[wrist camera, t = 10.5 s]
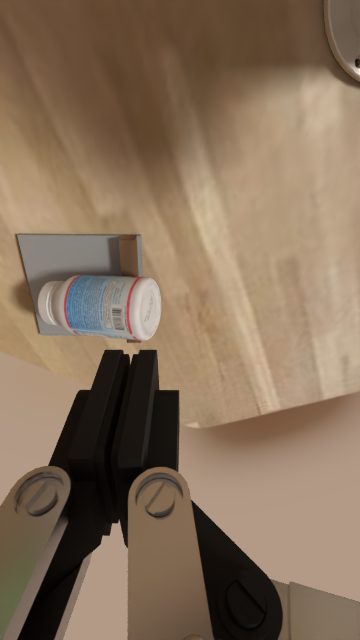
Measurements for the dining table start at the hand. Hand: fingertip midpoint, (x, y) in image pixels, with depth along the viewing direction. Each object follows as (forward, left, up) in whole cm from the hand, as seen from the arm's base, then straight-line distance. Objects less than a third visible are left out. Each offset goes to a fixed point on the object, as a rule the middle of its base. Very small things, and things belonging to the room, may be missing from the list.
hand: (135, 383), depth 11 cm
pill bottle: (+1, +7, -19) cm, 20 cm away
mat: (+8, +8, -25) cm, 27 cm away
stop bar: (+3, +8, -25) cm, 26 cm away
